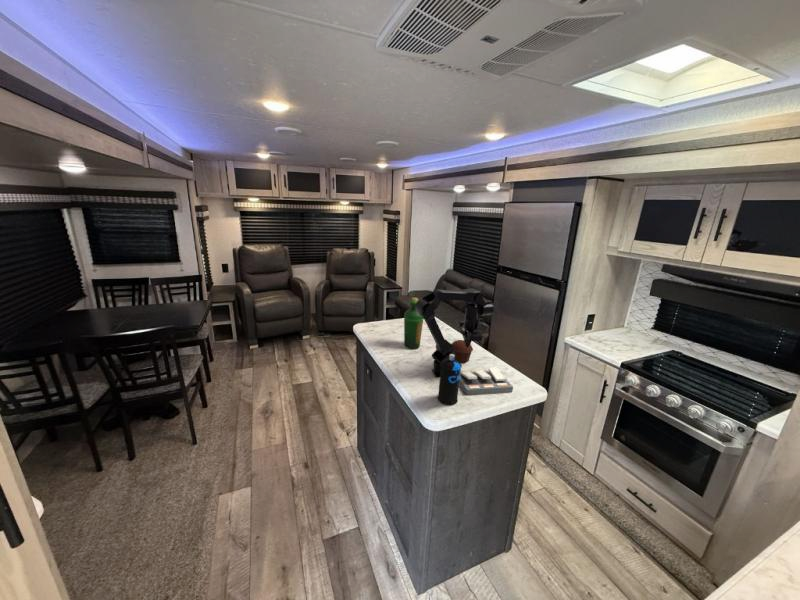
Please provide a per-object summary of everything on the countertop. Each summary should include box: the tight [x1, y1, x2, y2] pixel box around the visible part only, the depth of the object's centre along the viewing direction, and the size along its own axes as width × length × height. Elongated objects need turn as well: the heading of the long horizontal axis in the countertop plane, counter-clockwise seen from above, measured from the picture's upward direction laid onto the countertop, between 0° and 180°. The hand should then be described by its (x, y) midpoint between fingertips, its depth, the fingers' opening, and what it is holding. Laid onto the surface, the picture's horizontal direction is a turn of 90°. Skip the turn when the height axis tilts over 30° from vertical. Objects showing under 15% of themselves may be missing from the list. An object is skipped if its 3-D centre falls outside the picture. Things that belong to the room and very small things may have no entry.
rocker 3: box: [487, 367, 506, 381], centre depth 139 cm, size 4×8×2 cm, turn 10°
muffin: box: [451, 339, 474, 364], centre depth 159 cm, size 12×11×10 cm
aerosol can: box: [437, 354, 462, 406], centre depth 123 cm, size 8×8×20 cm
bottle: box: [403, 297, 424, 350], centre depth 168 cm, size 11×11×28 cm
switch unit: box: [459, 370, 514, 396], centre depth 138 cm, size 21×14×3 cm, turn 100°
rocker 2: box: [474, 370, 491, 379], centre depth 138 cm, size 4×8×2 cm, turn 10°
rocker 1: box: [460, 371, 477, 379], centre depth 137 cm, size 4×8×2 cm, turn 10°
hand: (467, 346), depth 147 cm, fingers closed
